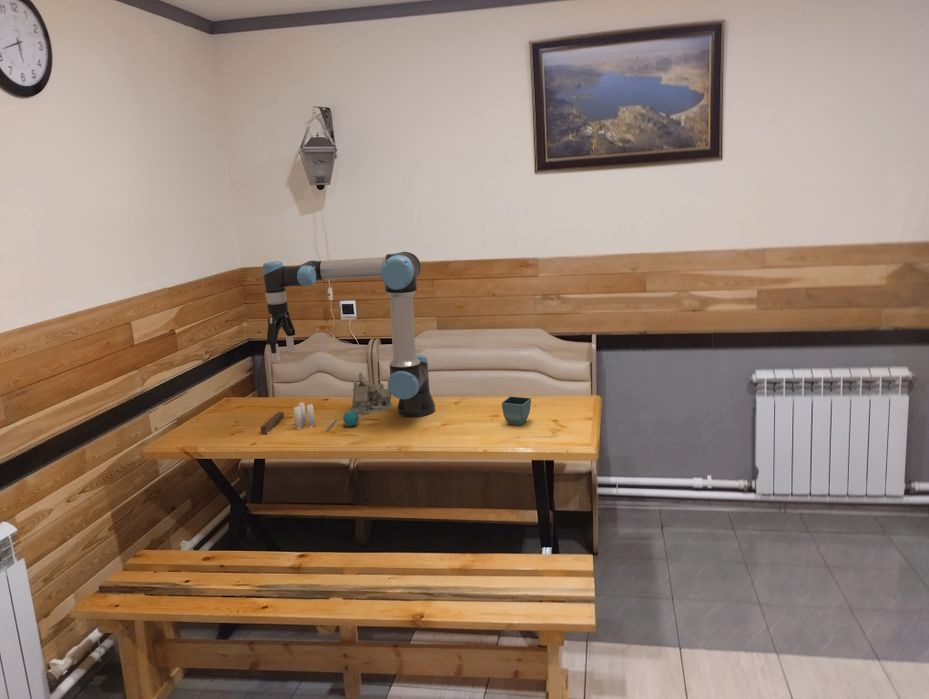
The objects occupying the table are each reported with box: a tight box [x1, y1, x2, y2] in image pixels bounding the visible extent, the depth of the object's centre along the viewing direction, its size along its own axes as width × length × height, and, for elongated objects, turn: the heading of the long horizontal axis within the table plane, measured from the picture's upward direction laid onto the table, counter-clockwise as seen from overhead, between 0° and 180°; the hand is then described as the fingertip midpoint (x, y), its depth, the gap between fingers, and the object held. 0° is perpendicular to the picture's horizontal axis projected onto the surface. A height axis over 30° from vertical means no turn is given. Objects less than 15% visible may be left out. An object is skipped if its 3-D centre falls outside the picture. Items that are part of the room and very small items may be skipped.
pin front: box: [306, 404, 316, 427], centre depth 302 cm, size 2×2×8 cm
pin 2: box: [297, 402, 308, 425], centre depth 305 cm, size 2×2×8 cm
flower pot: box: [501, 395, 532, 426], centre depth 290 cm, size 9×9×9 cm
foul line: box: [325, 419, 339, 432], centre depth 301 cm, size 1×12×1 cm, turn 171°
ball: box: [342, 410, 360, 427], centre depth 299 cm, size 6×6×6 cm
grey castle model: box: [350, 372, 393, 416], centre depth 318 cm, size 16×16×15 cm
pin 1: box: [293, 405, 303, 429], centre depth 300 cm, size 2×2×8 cm
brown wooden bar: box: [260, 411, 285, 435], centre depth 305 cm, size 2×18×3 cm, turn 171°
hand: (283, 356), depth 301 cm, fingers open, 13 cm apart
